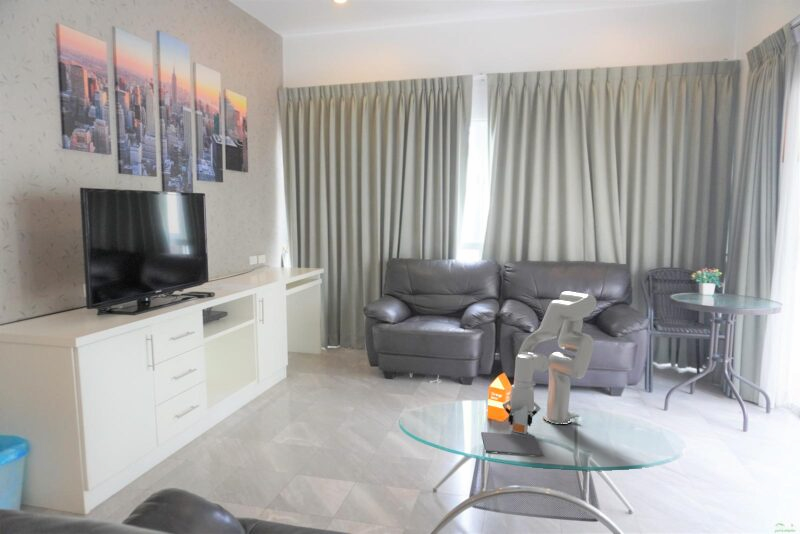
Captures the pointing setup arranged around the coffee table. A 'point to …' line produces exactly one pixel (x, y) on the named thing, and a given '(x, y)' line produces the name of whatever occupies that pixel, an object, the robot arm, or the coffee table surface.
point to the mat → (511, 444)
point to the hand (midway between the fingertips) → (520, 424)
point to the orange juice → (498, 398)
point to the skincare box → (520, 420)
